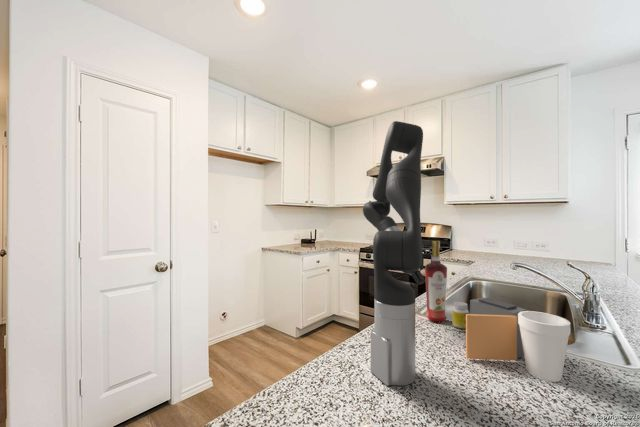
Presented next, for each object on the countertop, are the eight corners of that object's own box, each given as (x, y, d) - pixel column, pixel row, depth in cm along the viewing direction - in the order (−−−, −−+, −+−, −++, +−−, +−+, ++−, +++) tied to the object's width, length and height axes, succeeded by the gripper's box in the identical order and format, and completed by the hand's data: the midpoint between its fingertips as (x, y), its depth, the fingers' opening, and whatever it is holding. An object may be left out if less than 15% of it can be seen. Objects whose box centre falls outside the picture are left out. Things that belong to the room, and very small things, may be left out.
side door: (516, 360, 68) (516, 316, 69) (467, 358, 69) (467, 315, 70) (514, 359, 69) (514, 315, 69) (465, 356, 70) (465, 314, 70)
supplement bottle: (467, 333, 86) (467, 306, 86) (451, 329, 89) (451, 303, 89) (469, 328, 90) (469, 302, 90) (454, 325, 92) (454, 300, 93)
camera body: (513, 360, 70) (513, 310, 70) (470, 340, 81) (470, 298, 81) (527, 355, 72) (526, 307, 73) (483, 337, 83) (483, 295, 83)
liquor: (443, 317, 100) (443, 240, 100) (450, 324, 93) (449, 242, 93) (422, 315, 101) (422, 240, 101) (427, 323, 94) (427, 241, 94)
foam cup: (549, 389, 58) (549, 327, 58) (509, 366, 67) (508, 313, 67) (581, 382, 60) (580, 323, 61) (538, 360, 69) (537, 309, 70)
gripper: (386, 235, 93) (412, 278, 82) (415, 234, 99) (443, 274, 88) (376, 249, 98) (400, 291, 87) (404, 247, 104) (430, 287, 92)
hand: (422, 283), depth 87 cm, fingers closed
